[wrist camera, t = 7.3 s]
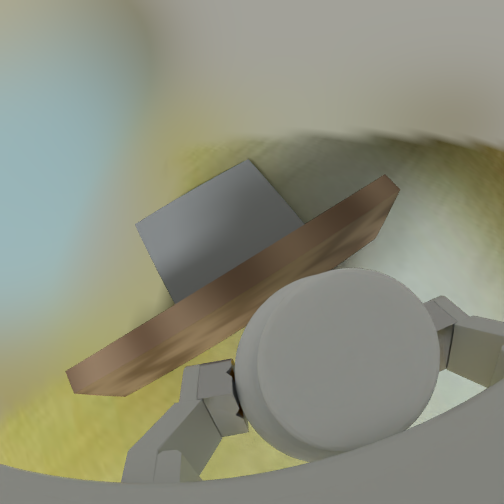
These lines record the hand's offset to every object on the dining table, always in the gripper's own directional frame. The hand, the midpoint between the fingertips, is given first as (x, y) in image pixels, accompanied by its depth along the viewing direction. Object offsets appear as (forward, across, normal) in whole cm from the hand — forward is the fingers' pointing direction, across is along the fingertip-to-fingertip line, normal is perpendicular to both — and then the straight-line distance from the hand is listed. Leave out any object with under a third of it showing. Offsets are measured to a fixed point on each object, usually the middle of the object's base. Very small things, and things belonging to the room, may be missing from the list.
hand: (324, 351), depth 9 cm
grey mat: (+18, +4, 0) cm, 19 cm away
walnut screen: (+13, +3, +6) cm, 15 cm away
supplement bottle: (+4, 0, +5) cm, 7 cm away
